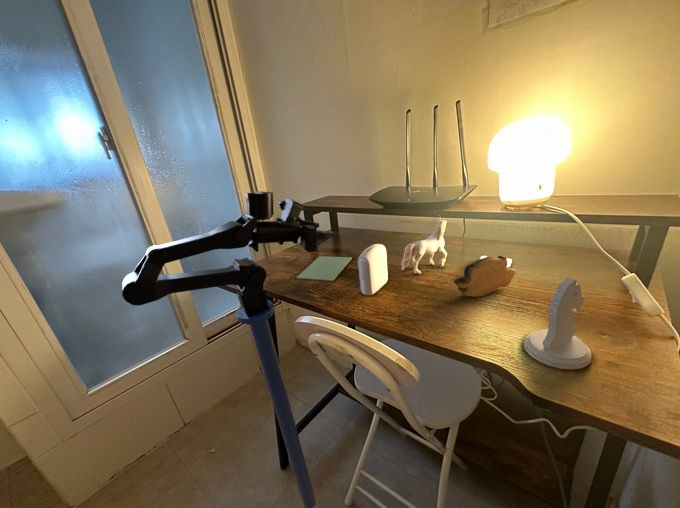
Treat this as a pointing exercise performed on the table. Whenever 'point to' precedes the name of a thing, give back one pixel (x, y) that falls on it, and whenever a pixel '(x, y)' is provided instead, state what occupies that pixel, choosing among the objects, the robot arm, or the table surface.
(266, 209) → the robot arm
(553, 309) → the chess piece
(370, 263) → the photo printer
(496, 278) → the wooden carving
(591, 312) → the table surface
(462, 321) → the table surface
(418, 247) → the unicorn figurine
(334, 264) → the felt mat
